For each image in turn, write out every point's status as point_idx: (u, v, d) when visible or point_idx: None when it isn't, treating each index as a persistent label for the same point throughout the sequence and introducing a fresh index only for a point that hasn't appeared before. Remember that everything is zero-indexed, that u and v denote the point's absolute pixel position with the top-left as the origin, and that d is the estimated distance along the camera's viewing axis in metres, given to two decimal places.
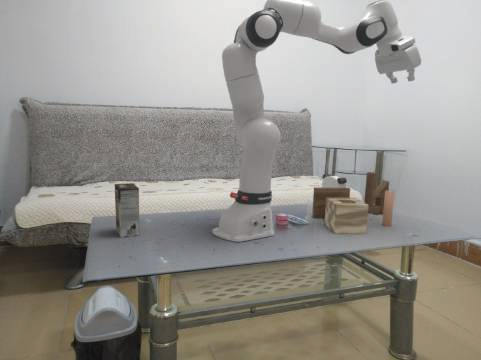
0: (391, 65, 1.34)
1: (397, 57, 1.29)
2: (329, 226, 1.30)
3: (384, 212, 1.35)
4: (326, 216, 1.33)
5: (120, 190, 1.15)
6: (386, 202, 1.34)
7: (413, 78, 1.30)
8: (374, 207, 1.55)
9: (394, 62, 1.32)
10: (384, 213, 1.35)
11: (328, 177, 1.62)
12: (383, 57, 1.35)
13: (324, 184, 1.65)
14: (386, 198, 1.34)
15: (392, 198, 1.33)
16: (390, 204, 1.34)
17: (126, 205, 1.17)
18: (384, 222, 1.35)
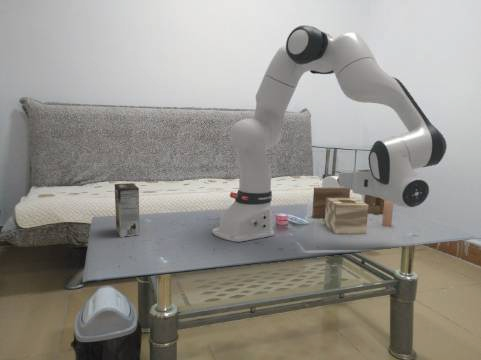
0: None
1: None
2: (329, 226, 1.30)
3: (384, 212, 1.35)
4: (326, 216, 1.33)
5: (120, 190, 1.15)
6: (386, 202, 1.34)
7: None
8: (374, 207, 1.55)
9: None
10: (384, 213, 1.35)
11: (328, 177, 1.62)
12: None
13: (324, 184, 1.65)
14: None
15: None
16: (390, 204, 1.34)
17: (126, 205, 1.17)
18: (384, 222, 1.35)
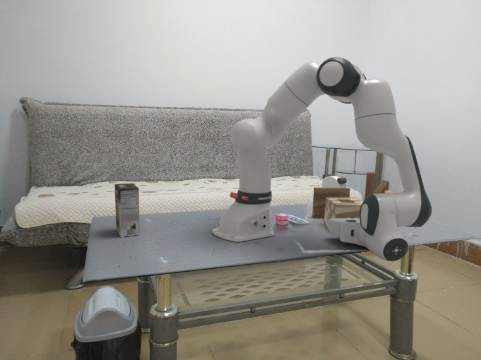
0: None
1: None
2: None
3: None
4: (325, 216, 1.34)
5: (120, 190, 1.15)
6: None
7: None
8: None
9: None
10: None
11: (328, 177, 1.62)
12: None
13: (324, 184, 1.65)
14: None
15: None
16: None
17: (126, 205, 1.17)
18: None
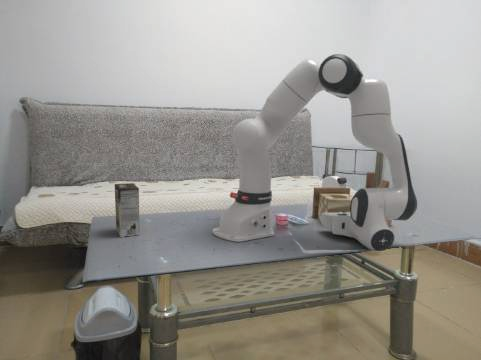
0: None
1: None
2: None
3: None
4: (319, 211, 1.41)
5: (120, 190, 1.15)
6: None
7: None
8: None
9: None
10: None
11: (328, 177, 1.62)
12: None
13: (324, 184, 1.65)
14: None
15: None
16: None
17: (126, 205, 1.17)
18: None
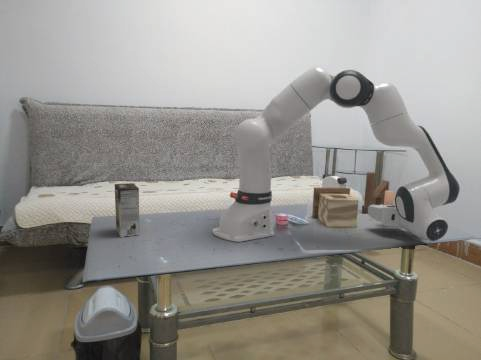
0: None
1: None
2: (322, 220, 1.38)
3: None
4: (319, 211, 1.41)
5: (120, 190, 1.15)
6: (386, 202, 1.34)
7: None
8: None
9: None
10: None
11: (328, 177, 1.62)
12: None
13: (324, 184, 1.65)
14: (386, 198, 1.34)
15: (392, 198, 1.33)
16: (390, 204, 1.34)
17: (126, 205, 1.17)
18: None
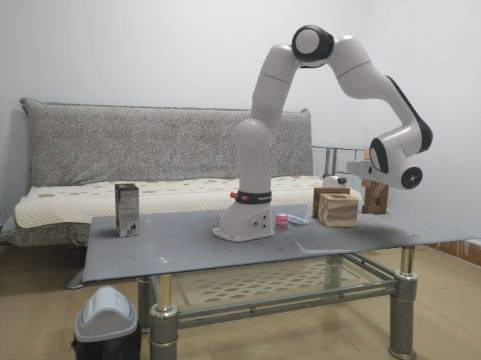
0: None
1: None
2: (322, 220, 1.38)
3: None
4: (319, 211, 1.41)
5: (120, 190, 1.15)
6: None
7: None
8: (374, 207, 1.55)
9: None
10: None
11: (328, 177, 1.62)
12: None
13: (324, 184, 1.65)
14: (366, 155, 1.32)
15: None
16: None
17: (126, 205, 1.17)
18: (363, 180, 1.34)
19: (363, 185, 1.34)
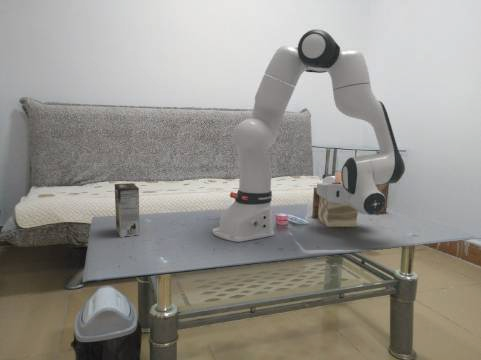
0: None
1: None
2: (322, 220, 1.38)
3: None
4: (319, 211, 1.41)
5: (120, 190, 1.15)
6: None
7: None
8: None
9: None
10: None
11: (328, 177, 1.62)
12: None
13: None
14: (336, 179, 1.35)
15: None
16: None
17: (126, 205, 1.17)
18: None
19: None
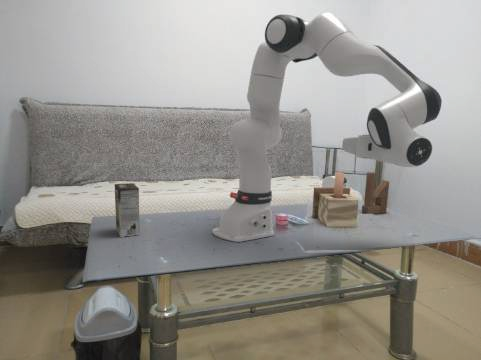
0: None
1: None
2: (322, 220, 1.38)
3: (334, 193, 1.36)
4: (319, 211, 1.41)
5: (120, 190, 1.15)
6: (336, 183, 1.35)
7: None
8: (374, 207, 1.55)
9: None
10: (334, 194, 1.36)
11: (328, 177, 1.62)
12: None
13: (324, 184, 1.65)
14: (336, 179, 1.35)
15: (342, 179, 1.34)
16: (340, 185, 1.34)
17: (126, 205, 1.17)
18: None
19: None
